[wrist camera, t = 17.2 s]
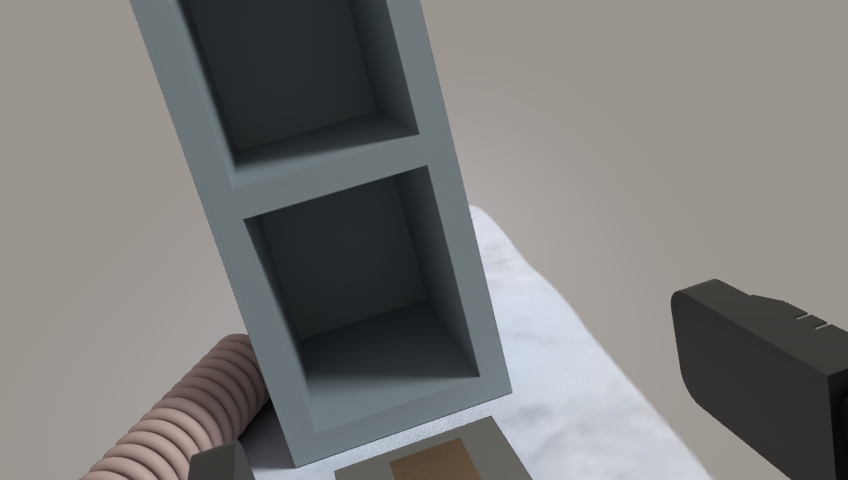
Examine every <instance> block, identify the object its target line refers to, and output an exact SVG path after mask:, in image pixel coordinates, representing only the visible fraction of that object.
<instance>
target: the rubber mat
mask: <svg viewBox="0 0 848 480" xmlns="http://www.w3.org/2000/svg"><path fill="white" fill-rule="evenodd" d="M459 437H460V438H461V440H462V442H463V444H464V446H465V448H466V450H467V452H468V454H469V456H470V458H471V460H472V462H473V464H474V466H475V468H476V470H477V472H478V473H479V475H480V477H481V479H482V480H533V479H532V478H531V476H530V475H529V473H528V472H527V470H526V469H525V467H524V465H523V464H522V462H521V461H520V459H519V458H518V456H517V455H516V453H515V452H514V450H513V448H512V447H511V445H510V444H509V442H508V441H507V439H506V438H505V436H504V434H503V433H502V431H501V430H500V428H499V427H498V425H497V424H496V422H495V420H494V419H493V417H492V416H489V417H486V418H483V419H480V420H477V421H474V422H472V423H469V424H466V425H463V426H460V427H457V428H455V429H452V430H449V431H446V432H443V433H440V434H438V435H435V436H432V437H429V438H426V439H423V440H421V441H418V442H415V443H412V444H409V445H406V446H404V447H401V448H398V449H395V450H392V451H389V452H387V453H384V454H381V455H378V456H375V457H372V458H370V459H367V460H364V461H361V462H358V463H355V464H353V465H350V466H347V467H344V468H341V469H338V470H336V471H334V473H335V478H336V480H394V477H393V473H392V470H391V467H390V464H389V462H390V461H393V460H396V459H399V458H402V457H405V456H408V455H410V454H413V453H416V452H419V451H422V450H425V449H428V448H431V447H433V446H436V445H439V444H442V443H445V442H448V441H451V440H453V439H456V438H459Z"/></svg>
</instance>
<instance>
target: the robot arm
mask: <svg viewBox="0 0 848 480" xmlns="http://www.w3.org/2000/svg"><path fill="white" fill-rule="evenodd" d="M671 310H672V317H673V324H674V330H675V337H676V343H677V350H678V356H679V363H680V369H681V374H682V378H683V380H684V383H685V385H686V388H687V389H688V391H689V393H690V395H691V396H692V398H693V399H694V400H695V401H696V403H697V404H699V405H700V406H701V407H702V408H703V409H704V410H706V411H707V412H708V413H710V414H711V415H712V416H713V417H714V418H716V419H717V420H718V421H719V422H721V423H722V424H723V425H724V426H725V427H727V428H728V429H729V430H731V431H732V432H733V433H734V434H735V435H737V436H738V437H739V438H740V439H742V440H743V441H744V442H745V443H746V444H748V445H749V446H750V447H751V448H753V449H754V450H755V451H756V452H758V453H759V454H760V455H761V456H763V457H764V458H765V459H766V460H767V461H769V462H770V463H771V464H772V465H774V466H775V467H776V468H777V469H779V470H780V471H781V472H782V473H784V474H785V475H786V476H787V477H789V478H790V479H791V480H848V332H846V331H844V330H842V329H840V328H838V327H836V326H834V325H832V324H831V325H828V324H827V322H826V321H824V320H822V319H820V318H817V317H815V316H813V315H810V316H808V314H807V312H805V311H803V310H801V309H799V308H797V307H795V306H792V305H790V304H789V303H786V302H784V301H781V300H775V299H771V298H766V297H761V296H756V295H751V296H750V295H748V294H746V293H744V292H742V291H740V290H738V289H736V288H734V287H732V286H730V285H728V284H726V283H724V282H722V281H720V280H717V279H712V280H709V281H706V282H703V283H700V284H697V285H694V286H691V287H688V288H685V289H682V290H679V291H676V292H675V293H674V294H673V295H672V298H671ZM188 480H255V478H254V475H253V472H252V470H251V467H250V464H249V462H248V459H247V456H246V454H245V451H244V449H243V447H242V445H241V443H240V442H239V441H238V440H235V441H232V442H229V443H226V444H223V445H220V446H217V447H214V448H211V449H208V450H205V451H202V452H199V453H196V454H194V455H192V456H191V460H190V466H189V473H188Z"/></svg>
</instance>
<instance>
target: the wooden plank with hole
mask: <svg viewBox="0 0 848 480" xmlns="http://www.w3.org/2000/svg"><path fill="white" fill-rule="evenodd" d="M389 464H390V467H391V470H392V473H393V477H394V480H482V479H481V477H480V475H479V473H478V472H477V470H476V468H475V466H474V464H473V462H472V460H471V458H470V456H469V454H468V452H467V450H466V448H465V446H464V444H463V442H462V440H461V438H460V437H459V438H456V439H453V440H451V441H448V442H445V443H442V444H439V445H436V446H433V447H431V448H428V449H425V450H422V451H419V452H416V453H413V454H410V455H408V456H405V457H402V458H399V459H396V460H393V461H390V462H389Z"/></svg>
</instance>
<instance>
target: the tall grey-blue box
mask: <svg viewBox="0 0 848 480" xmlns="http://www.w3.org/2000/svg"><path fill="white" fill-rule="evenodd" d="M130 3H131V6H132V9H133V12H134V14H135V17H136V20H137V23H138V25H139V28H140V31H141V34H142V37H143V39H144V42H145V45H146V48H147V51H148V54H149V57H150V59H151V62H152V65H153V68H154V71H155V74H156V76H157V79H158V82H159V85H160V88H161V90H162V93H163V96H164V99H165V102H166V104H167V107H168V110H169V113H170V115H171V118H172V121H173V124H174V127H175V130H176V132H177V135H178V138H179V141H180V144H181V147H182V149H183V152H184V155H185V158H186V160H187V163H188V166H189V169H190V172H191V175H192V177H193V180H194V183H195V186H196V189H197V191H198V194H199V197H200V200H201V203H202V206H203V208H204V211H205V214H206V217H207V220H208V222H209V225H210V228H211V231H212V234H213V236H214V239H215V242H216V245H217V248H218V251H219V253H220V256H221V259H222V262H223V265H224V267H225V270H226V273H227V276H228V279H229V281H230V284H231V287H232V290H233V292H234V296H235V298H236V301H237V304H238V307H239V310H240V312H241V315H242V318H243V321H244V324H245V326H246V329H247V332H248V335H249V338H250V341H251V343H252V346H253V349H254V352H255V355H256V357H257V360H258V363H259V366H260V369H261V371H262V374H263V377H264V380H265V383H266V386H267V388H268V391H269V394H270V397H271V400H272V402H273V405H274V408H275V411H276V414H277V416H278V419H279V422H280V425H281V428H282V431H283V433H284V436H285V439H286V442H287V445H288V447H289V450H290V453H291V456H292V459H293V461H294V464H295V467H296V468H297V467H300V466H303V465H306V464H309V463H311V462H314V461H317V460H320V459H323V458H326V457H329V456H332V455H334V454H337V453H340V452H343V451H346V450H349V449H352V448H354V447H357V446H360V445H363V444H366V443H369V442H372V441H374V440H377V439H380V438H383V437H386V436H389V435H392V434H394V433H397V432H400V431H403V430H406V429H409V428H412V427H414V426H417V425H420V424H423V423H426V422H429V421H432V420H435V419H437V418H440V417H443V416H446V415H449V414H452V413H455V412H457V411H460V410H463V409H466V408H469V407H472V406H475V405H477V404H480V403H483V402H486V401H489V400H492V399H495V398H497V397H500V396H503V395H506V394H509V393H512V388H511V383H510V379H509V375H508V371H507V366H506V362H505V358H504V354H503V350H502V345H501V341H500V337H499V333H498V328H497V324H496V320H495V316H494V311H493V307H492V303H491V299H490V295H489V290H488V286H487V282H486V278H485V273H484V269H483V265H482V261H481V257H480V252H479V248H478V244H477V240H476V235H475V231H474V227H473V223H472V218H471V214H470V210H469V206H468V202H467V197H466V193H465V189H464V185H463V181H462V176H461V172H460V168H459V164H458V160H457V155H456V151H455V147H454V142H453V138H452V134H451V130H450V125H449V121H448V117H447V113H446V109H445V105H444V100H443V96H442V92H441V87H440V84H439V79H438V75H437V71H436V66H435V62H434V58H433V54H432V49H431V45H430V41H429V37H428V32H427V28H426V24H425V20H424V16H423V12H422V7H421V3H420V0H130Z"/></svg>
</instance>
